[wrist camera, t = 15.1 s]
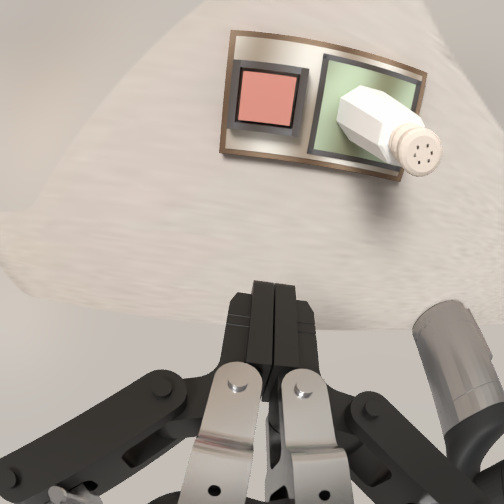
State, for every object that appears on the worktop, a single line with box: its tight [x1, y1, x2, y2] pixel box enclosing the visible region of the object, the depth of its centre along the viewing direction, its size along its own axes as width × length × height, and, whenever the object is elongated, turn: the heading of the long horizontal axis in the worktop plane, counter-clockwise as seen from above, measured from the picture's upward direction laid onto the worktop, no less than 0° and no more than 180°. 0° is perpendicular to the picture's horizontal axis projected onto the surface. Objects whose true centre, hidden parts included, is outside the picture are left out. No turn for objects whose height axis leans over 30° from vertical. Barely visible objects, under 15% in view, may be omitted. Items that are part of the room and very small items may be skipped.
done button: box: [238, 71, 297, 126], centre depth 22 cm, size 4×4×2 cm
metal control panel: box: [219, 30, 427, 182], centre depth 23 cm, size 17×11×2 cm, turn 84°
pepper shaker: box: [336, 85, 442, 177], centre depth 18 cm, size 5×5×11 cm
